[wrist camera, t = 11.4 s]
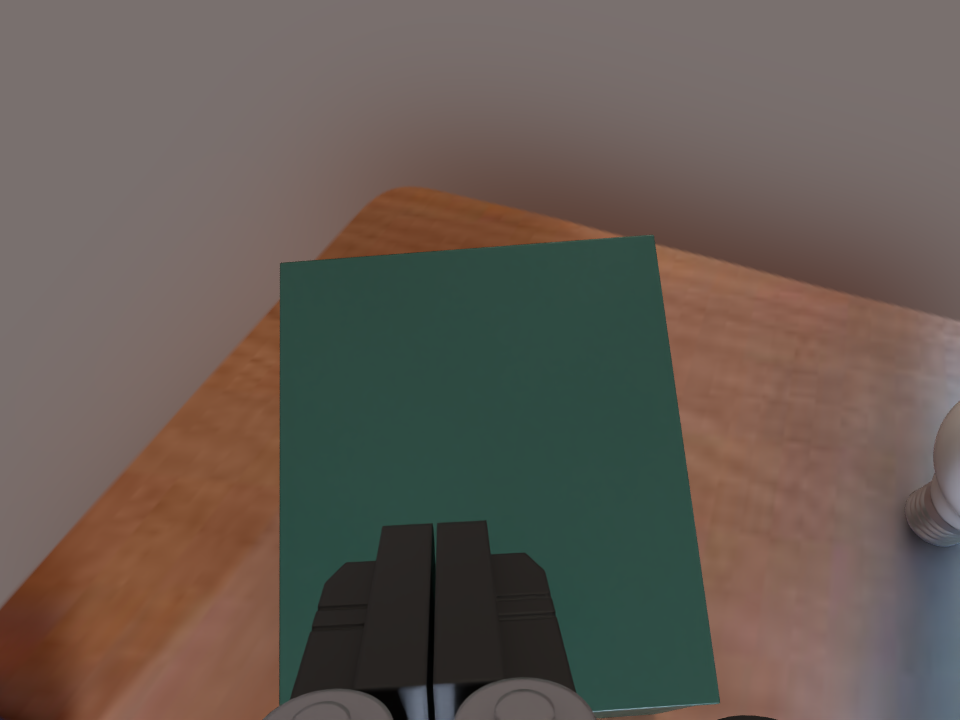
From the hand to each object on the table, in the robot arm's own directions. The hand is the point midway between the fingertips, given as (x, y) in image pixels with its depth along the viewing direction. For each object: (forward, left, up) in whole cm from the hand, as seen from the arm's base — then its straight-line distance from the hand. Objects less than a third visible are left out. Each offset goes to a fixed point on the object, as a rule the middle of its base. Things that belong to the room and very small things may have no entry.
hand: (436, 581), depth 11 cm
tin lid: (-3, +5, -12) cm, 13 cm away
